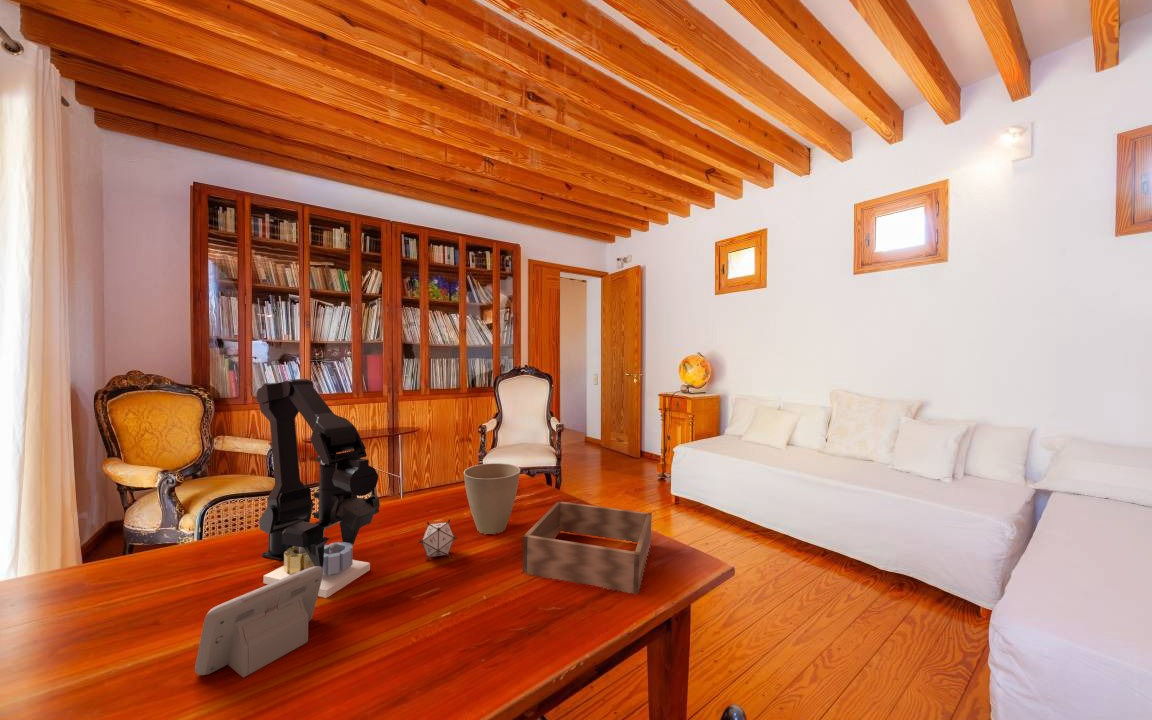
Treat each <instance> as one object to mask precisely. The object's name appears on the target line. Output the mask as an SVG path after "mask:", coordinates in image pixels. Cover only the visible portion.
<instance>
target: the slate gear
mask: <svg viewBox="0 0 1152 720" xmlns="http://www.w3.org/2000/svg"><path fill="white" fill-rule="evenodd" d="M332 544H338V545H339V553H334V554H329V548H330V546H331V545H332ZM353 547H354V545H353V544H351V543H347V542H342V541H341V542H340V541H338V542H332V543H329V544H325V545H324V561H323V568H322V569H323V575H325V574H327V573H328V575H331V574H336V573H339V571H345V570H346V569H348V568H350V567H351V565H352V560H353V558H354V557H353V555H354V554H353V553H354V552H353Z"/></svg>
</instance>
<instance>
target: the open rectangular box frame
mask: <svg viewBox="0 0 1152 720" xmlns="http://www.w3.org/2000/svg"><path fill="white" fill-rule="evenodd" d="M652 517H653V515H652V512H651V513H650V512H645V511H635V510H628V509H619V508H611V507H605V506H596V505H588V504H582V503H575V502H574V503H573V502H566V501H559V500H557V502H555V503H554V504H553V506H552V507H550V509H548V511H547V512H546V513H544V515H543V516H542V517H540V519H539V520H537V522H536V523H535V524H534V525H533V526H532V527H531V528H530V529H528V531H526V532H525V534H524V535H523V536H522V537H523V538H522V541H523V542H522V574H523V573H526V574H525V575H529V574H530V576H534V575H535V576H536V577H540V578H545V579H550V578H552V580H555V579H560V580H559V581H561V580H565V581H564V582H566V581H570V582H569V583H572V582H576V583H575V584H577V583H582V584H588V585H595V586H599V587H603V588H602V589H604V588H607V589H606V590H609V589H612V590H611V591H615V590H617V591H616V592H620V591H622V593H625V592H627V594H631V593H633V594H632V595H636V594H638V593H639V592H640V590H639V589H641V586H642V582H641V581H642V580H643V578H642V576H643V577H644V574H643V572H644V573H645V570H644V568H645V569H646V566H645V564H646V565H647V562H646V560H647V561H648V558H647V556H648V557H649V554H648V552H649V553H650V550H649V548H650V549H651V546H650V544H651V545H652V520H653V519H652ZM559 531H564V532H570V533H578V534H584V535H591V536H598V537H605V538H612V539H619V540H626V541H632V542H638V544H637V545H636V548H635V550H634V551H633V550H632V551H631V550H626V549H620V548H612V547H607V546H601V545H594V544H587V543H581V542H575V541H568V540H562V539H556V538H555V539H554V537H555V536H556V535H557V533H558V532H559ZM557 536H558V535H557ZM582 584H581V585H582ZM588 585H587V586H588ZM640 585H641V586H640ZM638 595H639V594H638Z"/></svg>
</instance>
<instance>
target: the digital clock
mask: <svg viewBox="0 0 1152 720" xmlns="http://www.w3.org/2000/svg"><path fill="white" fill-rule="evenodd" d="M322 576H323V569H322V567H321V566H316V567H310V568H308V569H305V570H302V571H300V572H298V573H295V574H293V575H290V576H288V577H285V578H283V579H280V580H278V581H276V582H273V583H271V584H266V585H263V586H262V587H259V588H257V589H254V590H252V591H249V592H246V593H244V594H243V595H242V594H241V595H240V596H237V597H234V598H232V599H230V600H228V601H225V602H222V603H221V604H218V605H215V606H214V607H212V608H211V609H209V610H208V612H207V613H206V615H205V617H204V621H203V624H202V630H201V635H200V639H199V645H198V651H197V655H196V659H195V666H194V672H195V674H196V675H198V676H205V675H210V674H212V673H214V672H216V671H218V670H220V669H222V668H224V667H226V666H228V667H230V668H231V669H232V670H234V672H235V673H237V674H238V675H239V676H241V677H242V678H245V677H247V676H250V675H251V674H253V673H255V672H256V671H259V670H260V669H262V668H264V667H265V666H267V665H269V664H271V663H273V662H275V661H276V660H278V659H280V658H282V657H284V656H285V655H287V654H289V653H290V652H292V651H294V650H296V649H298V648H300V647H301V646H303V645H305V644H307V643H308V642H309V622H310V621H311V620H312V617H313V616H314V612H315V608H316V605H317V601H318V597H319V596H318V593H319V589H320V585H321V581H322Z"/></svg>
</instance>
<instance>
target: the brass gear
mask: <svg viewBox="0 0 1152 720" xmlns="http://www.w3.org/2000/svg"><path fill="white" fill-rule="evenodd" d="M283 566H284V571H285V572H286V573H290V574H295V573H298V572H300V571H302V570H305V569H308V568H310V567H315V566H314V564H313V562H312V560H311V559H310V557H309V555H308V554H307V552H306V553H303V554H299V547H297V546H293V547H290V548H289V549H288V550H286V551H285V553H284V560H283Z"/></svg>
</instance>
